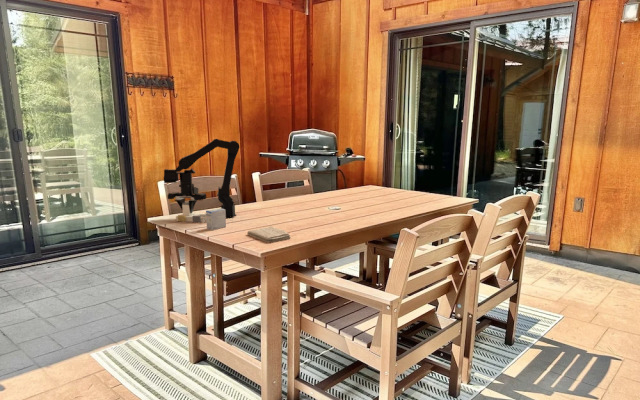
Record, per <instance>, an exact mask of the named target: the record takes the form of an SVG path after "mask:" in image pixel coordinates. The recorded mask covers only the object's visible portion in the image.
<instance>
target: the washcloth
mask: <svg viewBox="0 0 640 400" xmlns="http://www.w3.org/2000/svg"><path fill="white" fill-rule="evenodd" d="M247 235H248V236H250V237H253V238H254V239H258V240H260V241H262V242H265V243H268V244H269V243H270V244H271V243H275V242H276V243H277V242H281V241H287V240H290V239H291V235H290V233H289V232H286V231H285V229H280V228H277V227H274V226H267V227H262V228H258V229H257V228H256V229H250V230H248V231H247Z"/></svg>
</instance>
